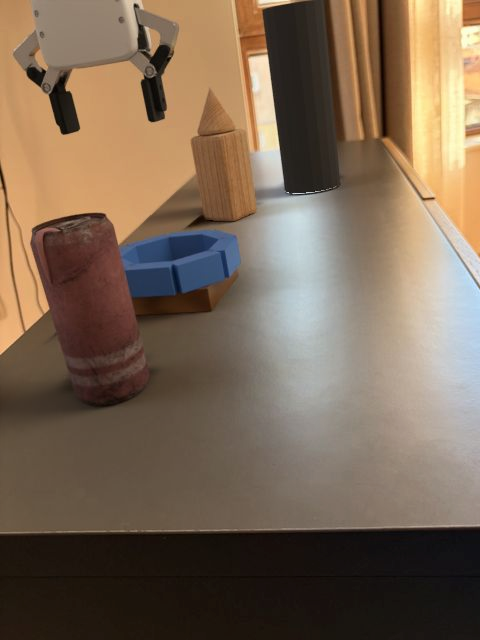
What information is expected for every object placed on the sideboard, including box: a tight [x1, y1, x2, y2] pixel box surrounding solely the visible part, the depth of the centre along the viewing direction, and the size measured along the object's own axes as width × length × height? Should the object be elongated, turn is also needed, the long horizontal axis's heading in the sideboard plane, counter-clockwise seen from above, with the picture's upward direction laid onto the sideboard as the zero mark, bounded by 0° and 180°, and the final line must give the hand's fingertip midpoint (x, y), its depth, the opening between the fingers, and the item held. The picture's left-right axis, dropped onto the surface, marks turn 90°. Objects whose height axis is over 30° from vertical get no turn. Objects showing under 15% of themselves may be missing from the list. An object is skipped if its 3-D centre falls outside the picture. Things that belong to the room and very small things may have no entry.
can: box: [29, 212, 151, 407], centre depth 49 cm, size 6×6×14 cm
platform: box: [131, 268, 239, 316], centre depth 71 cm, size 11×11×2 cm
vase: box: [261, 0, 341, 193], centre depth 111 cm, size 10×10×30 cm
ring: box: [119, 229, 242, 298], centre depth 70 cm, size 14×14×3 cm
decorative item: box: [190, 87, 258, 222], centre depth 101 cm, size 7×7×20 cm
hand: (113, 126), depth 66 cm, fingers open, 9 cm apart
